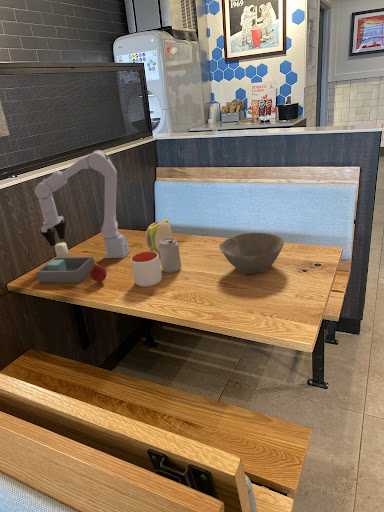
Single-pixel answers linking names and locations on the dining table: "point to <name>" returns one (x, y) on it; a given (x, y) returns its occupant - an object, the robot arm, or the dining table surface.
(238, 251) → the ceramic bowl
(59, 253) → the cylinder
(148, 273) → the cup
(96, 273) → the onion
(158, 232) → the hamburger
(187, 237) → the dining table surface
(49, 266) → the cube
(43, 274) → the tote
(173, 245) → the can
